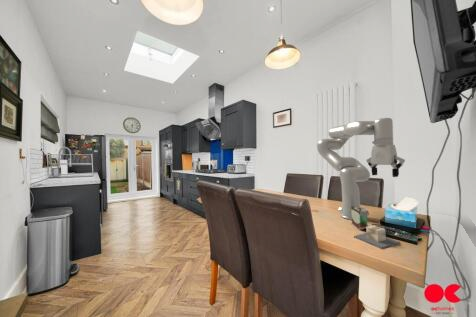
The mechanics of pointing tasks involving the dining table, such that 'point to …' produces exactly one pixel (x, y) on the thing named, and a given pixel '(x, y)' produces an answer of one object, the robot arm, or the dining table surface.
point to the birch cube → (375, 233)
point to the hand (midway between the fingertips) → (384, 175)
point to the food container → (359, 217)
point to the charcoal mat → (381, 244)
